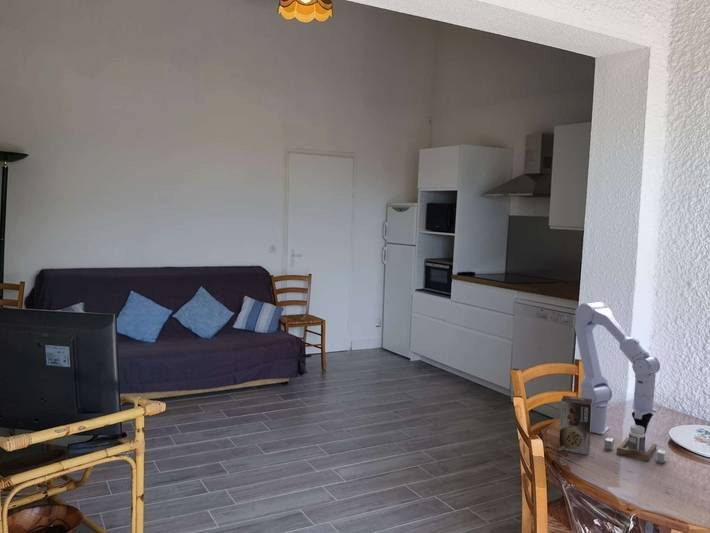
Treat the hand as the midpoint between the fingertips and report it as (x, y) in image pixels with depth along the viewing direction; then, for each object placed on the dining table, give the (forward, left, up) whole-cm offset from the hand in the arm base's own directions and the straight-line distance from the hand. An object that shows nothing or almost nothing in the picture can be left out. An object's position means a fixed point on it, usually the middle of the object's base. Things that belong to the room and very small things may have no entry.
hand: (640, 434), depth 194 cm
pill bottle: (0, -7, -4) cm, 8 cm away
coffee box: (-16, -17, -4) cm, 24 cm away
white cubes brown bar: (0, -6, -4) cm, 7 cm away
